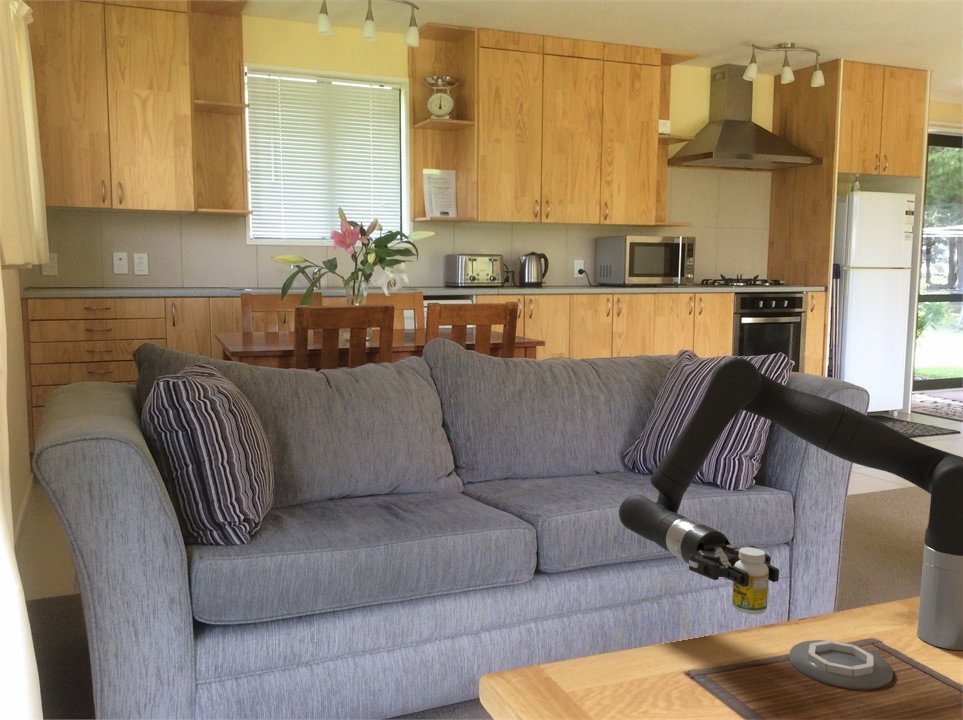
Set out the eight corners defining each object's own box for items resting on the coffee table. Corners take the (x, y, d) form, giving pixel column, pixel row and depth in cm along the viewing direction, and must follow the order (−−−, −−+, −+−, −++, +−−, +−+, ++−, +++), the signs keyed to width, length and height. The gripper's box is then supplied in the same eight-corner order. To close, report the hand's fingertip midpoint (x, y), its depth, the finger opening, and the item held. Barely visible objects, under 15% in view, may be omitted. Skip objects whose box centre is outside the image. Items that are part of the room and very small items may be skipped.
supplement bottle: (773, 613, 135) (777, 555, 134) (744, 617, 134) (747, 558, 133) (753, 600, 140) (756, 544, 139) (725, 603, 139) (728, 547, 138)
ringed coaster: (793, 637, 153) (794, 627, 153) (891, 656, 146) (892, 645, 146) (785, 675, 139) (786, 664, 138) (893, 698, 132) (894, 686, 132)
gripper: (663, 528, 146) (726, 561, 131) (731, 519, 152) (799, 550, 136) (661, 569, 147) (724, 607, 132) (729, 560, 153) (796, 595, 137)
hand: (762, 578), depth 134 cm, fingers closed on supplement bottle, 5 cm apart
